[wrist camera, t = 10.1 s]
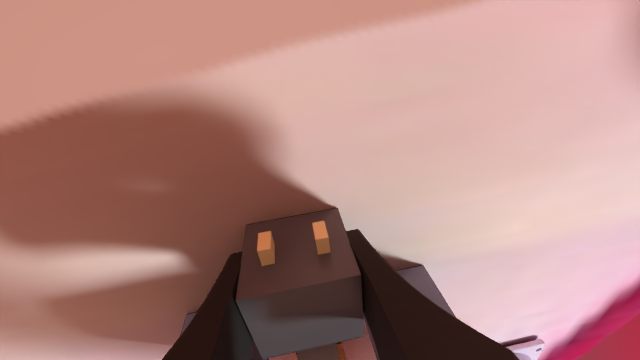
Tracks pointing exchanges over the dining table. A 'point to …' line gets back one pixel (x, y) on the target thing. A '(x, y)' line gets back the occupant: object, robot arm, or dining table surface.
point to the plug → (300, 286)
